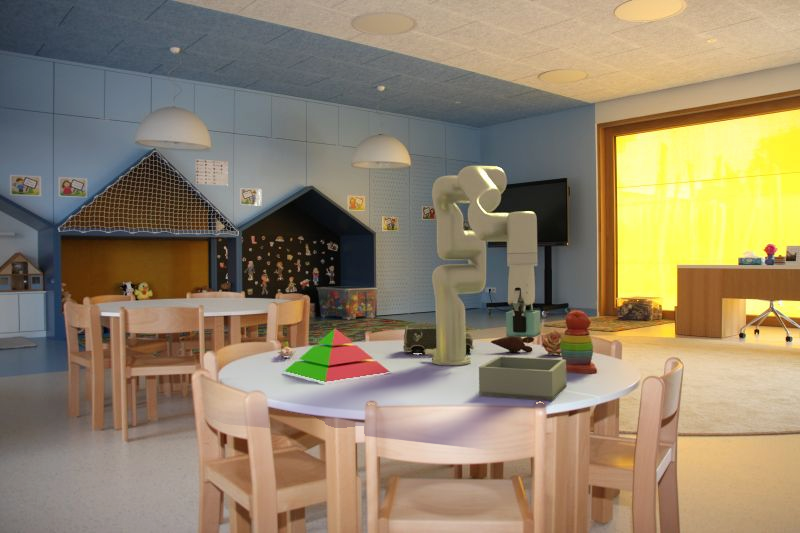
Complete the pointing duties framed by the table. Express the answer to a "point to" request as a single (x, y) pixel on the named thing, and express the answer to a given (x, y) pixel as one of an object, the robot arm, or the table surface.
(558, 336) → the flower
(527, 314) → the box
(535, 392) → the big crate
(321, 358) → the pyramid toy
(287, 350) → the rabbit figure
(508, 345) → the icecream
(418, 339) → the toy van
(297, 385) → the table surface
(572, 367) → the stacking bear
